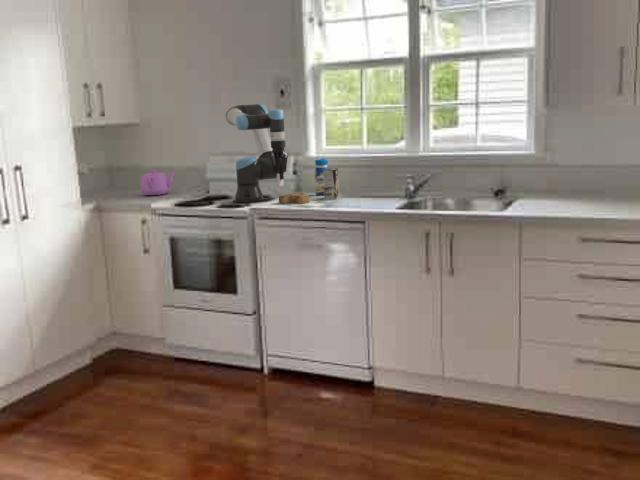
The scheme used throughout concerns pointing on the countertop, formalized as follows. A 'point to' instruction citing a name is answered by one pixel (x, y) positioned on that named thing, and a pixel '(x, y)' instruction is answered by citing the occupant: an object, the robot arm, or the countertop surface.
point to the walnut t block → (294, 198)
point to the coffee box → (331, 184)
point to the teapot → (156, 183)
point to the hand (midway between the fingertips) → (280, 185)
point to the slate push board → (308, 205)
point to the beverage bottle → (320, 175)
